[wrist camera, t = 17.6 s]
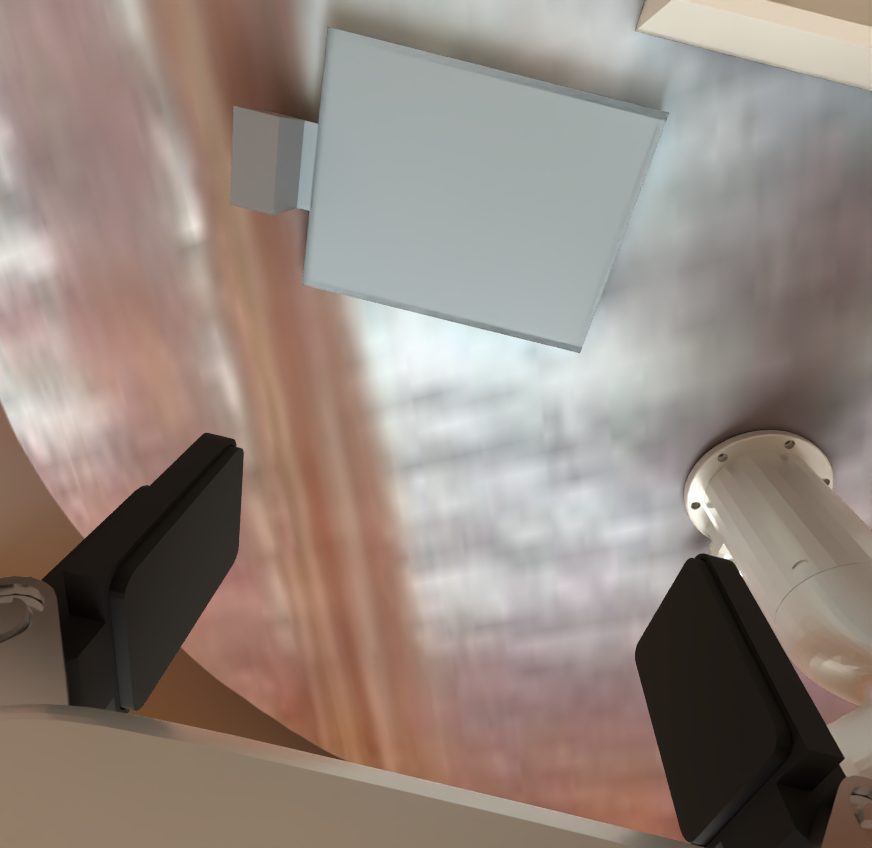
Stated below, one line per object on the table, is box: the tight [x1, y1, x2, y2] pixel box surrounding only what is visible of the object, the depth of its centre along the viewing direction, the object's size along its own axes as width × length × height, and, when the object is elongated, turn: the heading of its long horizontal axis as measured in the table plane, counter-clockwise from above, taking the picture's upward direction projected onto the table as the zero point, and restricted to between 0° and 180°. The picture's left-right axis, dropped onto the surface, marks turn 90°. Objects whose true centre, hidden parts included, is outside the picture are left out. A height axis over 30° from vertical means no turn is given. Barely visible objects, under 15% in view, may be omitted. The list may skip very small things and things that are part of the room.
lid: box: [230, 27, 669, 353], centre depth 39 cm, size 18×28×7 cm, turn 78°
